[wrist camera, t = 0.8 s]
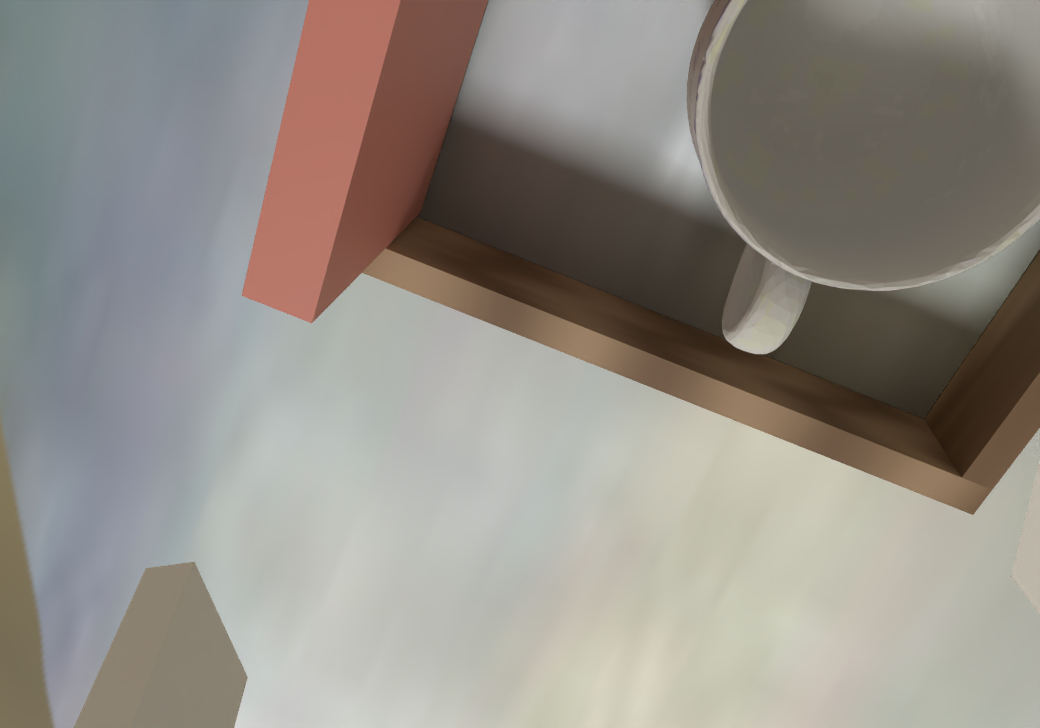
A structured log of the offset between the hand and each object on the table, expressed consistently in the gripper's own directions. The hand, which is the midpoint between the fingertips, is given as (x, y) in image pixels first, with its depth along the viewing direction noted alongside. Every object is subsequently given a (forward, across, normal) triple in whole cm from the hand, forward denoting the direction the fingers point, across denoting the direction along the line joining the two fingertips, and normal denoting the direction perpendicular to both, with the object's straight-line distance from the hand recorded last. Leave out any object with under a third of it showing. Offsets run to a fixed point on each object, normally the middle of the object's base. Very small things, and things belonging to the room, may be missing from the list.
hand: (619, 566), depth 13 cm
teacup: (+20, -10, 0) cm, 23 cm away
